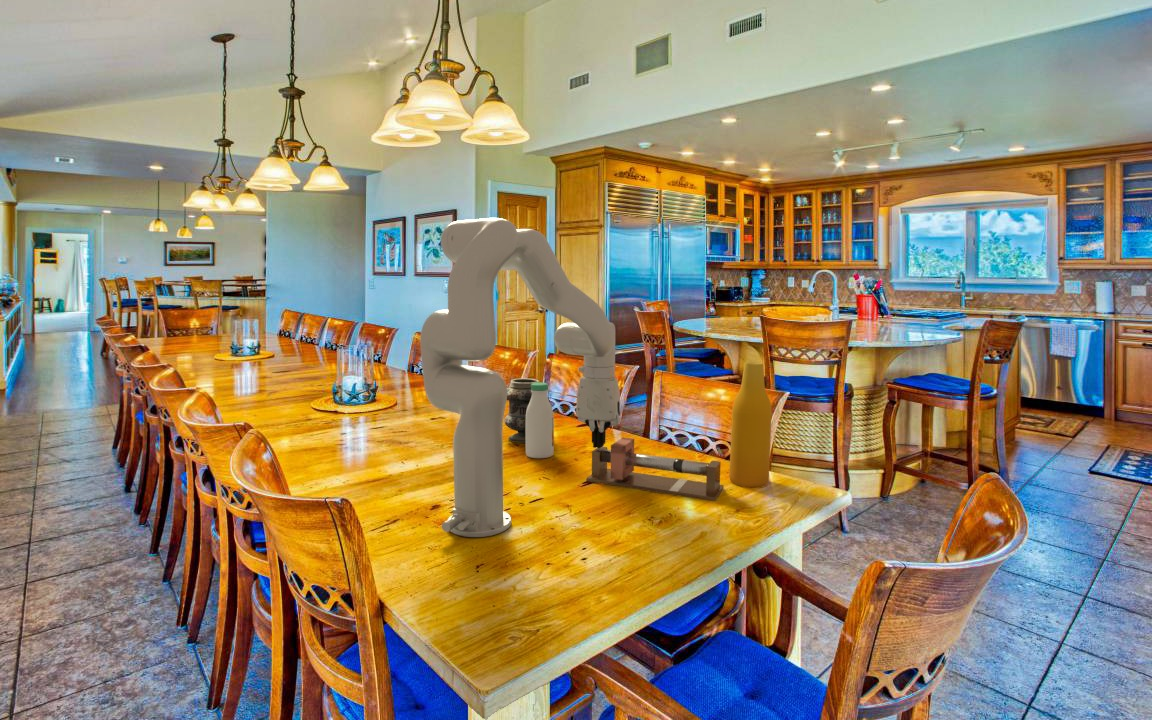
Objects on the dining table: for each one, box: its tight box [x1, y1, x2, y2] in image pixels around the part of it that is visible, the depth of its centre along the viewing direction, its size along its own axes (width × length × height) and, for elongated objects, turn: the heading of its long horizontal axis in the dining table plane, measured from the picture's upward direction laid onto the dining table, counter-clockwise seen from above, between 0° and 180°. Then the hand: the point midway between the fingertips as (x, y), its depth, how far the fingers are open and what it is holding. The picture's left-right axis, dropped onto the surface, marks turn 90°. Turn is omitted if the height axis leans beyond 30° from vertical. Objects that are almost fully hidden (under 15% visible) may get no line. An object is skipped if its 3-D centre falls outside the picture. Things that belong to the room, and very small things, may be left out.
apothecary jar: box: [503, 377, 540, 444], centre depth 189 cm, size 12×12×18 cm
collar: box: [610, 437, 635, 480], centre depth 152 cm, size 8×3×8 cm, turn 155°
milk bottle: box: [525, 382, 555, 459], centre depth 172 cm, size 8×8×20 cm
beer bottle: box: [728, 361, 773, 489], centre depth 150 cm, size 9×9×29 cm
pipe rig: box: [586, 446, 724, 502], centre depth 149 cm, size 9×31×7 cm, turn 65°
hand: (598, 446), depth 154 cm, fingers closed
